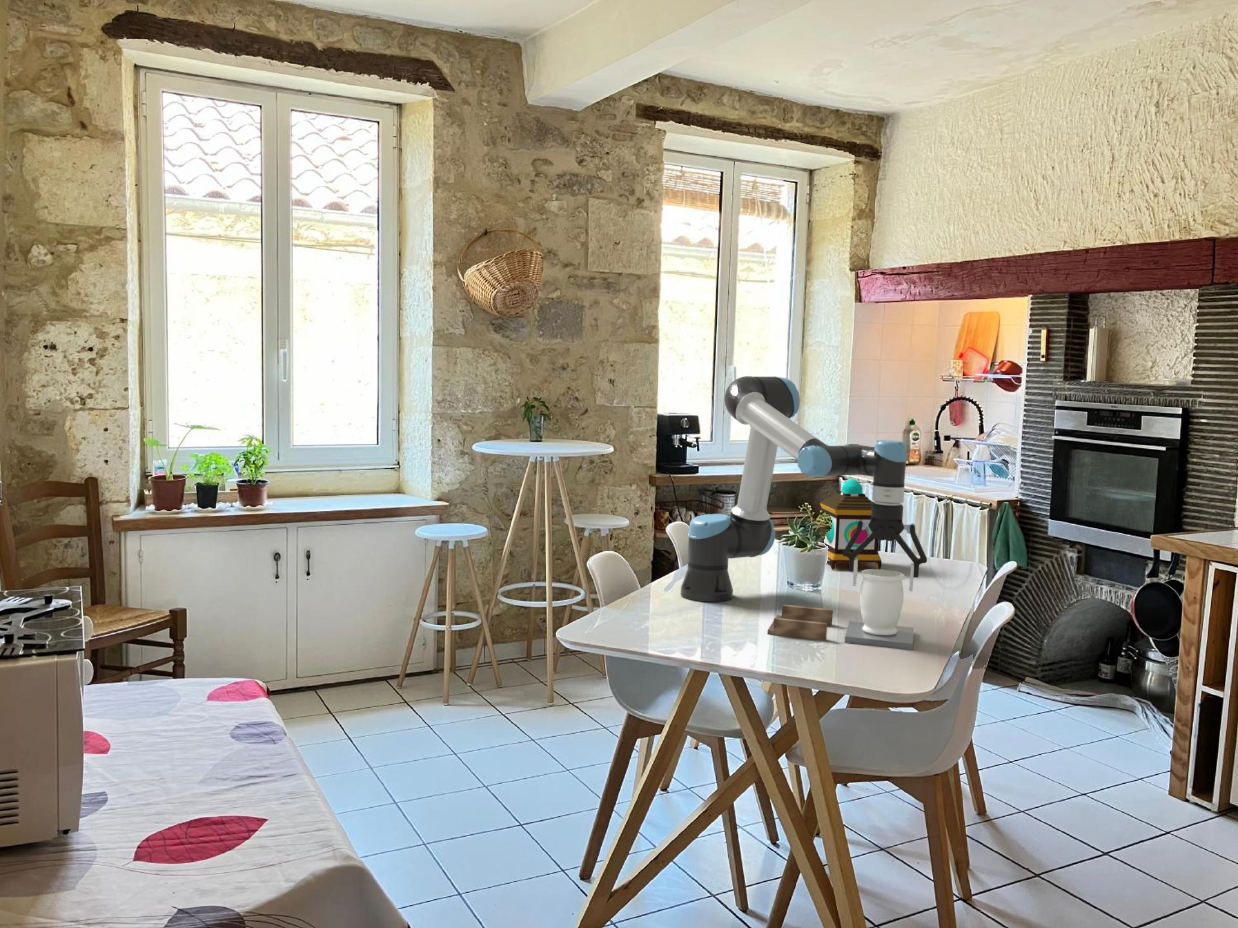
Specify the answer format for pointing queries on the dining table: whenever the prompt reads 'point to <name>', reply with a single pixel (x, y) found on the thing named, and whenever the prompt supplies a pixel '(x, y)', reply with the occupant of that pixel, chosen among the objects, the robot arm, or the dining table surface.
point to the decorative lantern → (849, 524)
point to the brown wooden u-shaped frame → (802, 622)
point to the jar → (881, 600)
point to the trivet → (880, 636)
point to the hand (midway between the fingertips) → (882, 587)
